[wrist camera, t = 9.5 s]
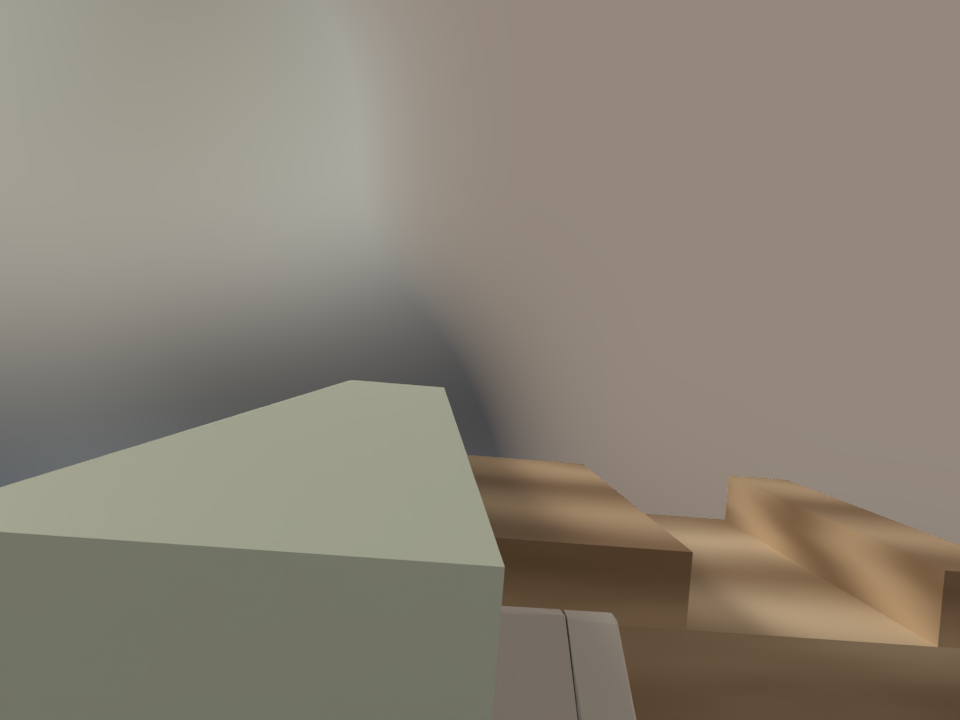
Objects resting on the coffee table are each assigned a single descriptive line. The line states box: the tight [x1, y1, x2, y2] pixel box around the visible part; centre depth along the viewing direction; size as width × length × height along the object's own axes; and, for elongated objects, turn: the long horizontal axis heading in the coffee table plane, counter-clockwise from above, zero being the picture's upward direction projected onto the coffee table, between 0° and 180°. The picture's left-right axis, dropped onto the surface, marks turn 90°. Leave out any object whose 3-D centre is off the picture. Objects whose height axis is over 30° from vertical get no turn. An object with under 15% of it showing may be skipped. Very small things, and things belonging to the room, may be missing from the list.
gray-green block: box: [0, 380, 505, 720], centre depth 18 cm, size 27×4×4 cm, turn 3°
